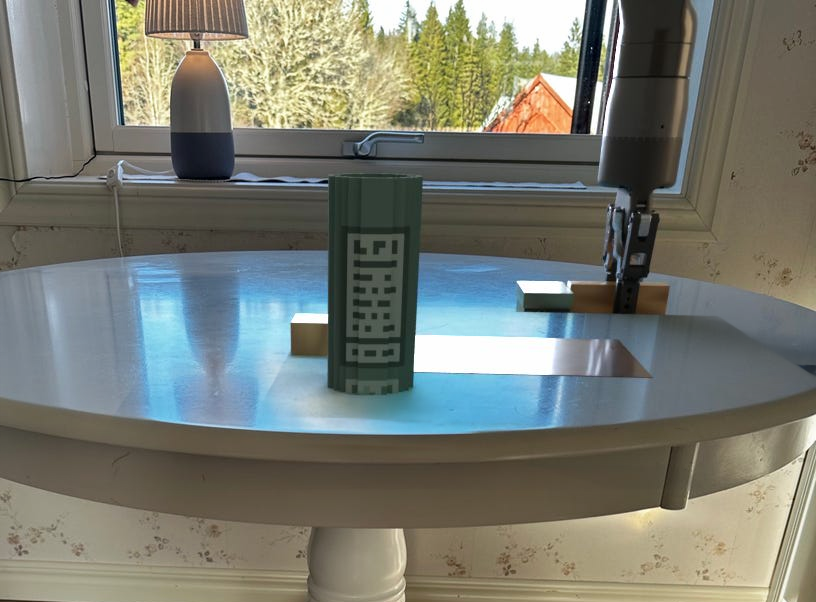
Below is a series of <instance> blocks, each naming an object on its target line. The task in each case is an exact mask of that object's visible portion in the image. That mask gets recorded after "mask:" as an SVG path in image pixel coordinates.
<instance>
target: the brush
mask: <svg viewBox="0 0 816 602" xmlns="http://www.w3.org/2000/svg"><path fill="white" fill-rule="evenodd" d="M639 283H640V287H639V293H638V300H637V307H636V313H635V314H634V315H645V316H647V315H648V316H649V315H650V316H651V315H653V316H657V315H658V316H665V315H666V313H667V307H668V302H669V301H668V300H669V294H670V288H671V286H670V284H668V283H667V282H664V281H663V282H662V281H661V282H659V281H642V282H639ZM615 289H616V282H614V281H604V280H601V281H600V280H567V284H566V283H565V282H564V281H546V280H545V281H544V280H543V281H541V280H540V281H539V280H538V281H537V280H531V281H530V280H517V281H516V286H515V297H516V308H515V311H516V312H517V313H549V314H551V313H552V314H597V315H598V314H599V315H606V314H607V315H613V314H612V310H613V303H614V296H615Z"/></svg>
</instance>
